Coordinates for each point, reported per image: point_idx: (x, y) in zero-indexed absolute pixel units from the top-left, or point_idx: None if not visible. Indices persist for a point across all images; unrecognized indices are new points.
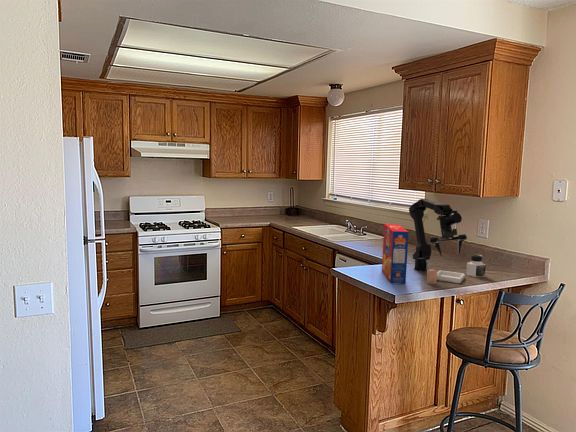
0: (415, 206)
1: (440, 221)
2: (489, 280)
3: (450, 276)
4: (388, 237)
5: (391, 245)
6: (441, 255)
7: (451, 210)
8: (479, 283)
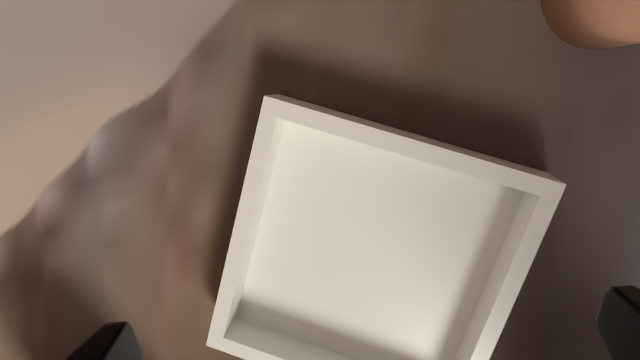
0: None
1: None
2: (31, 300)
3: (349, 318)
4: None
5: None
6: (619, 287)
7: None
8: (104, 168)
